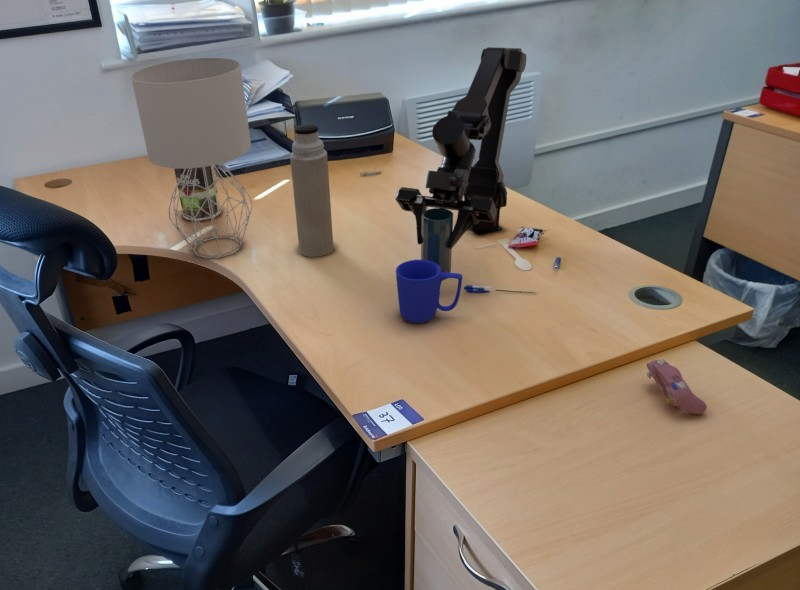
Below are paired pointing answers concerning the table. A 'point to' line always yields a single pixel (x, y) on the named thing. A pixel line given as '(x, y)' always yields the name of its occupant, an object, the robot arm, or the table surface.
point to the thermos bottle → (311, 192)
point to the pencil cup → (437, 237)
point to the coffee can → (198, 192)
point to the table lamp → (195, 125)
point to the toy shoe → (675, 387)
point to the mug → (422, 290)
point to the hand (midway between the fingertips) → (434, 246)
